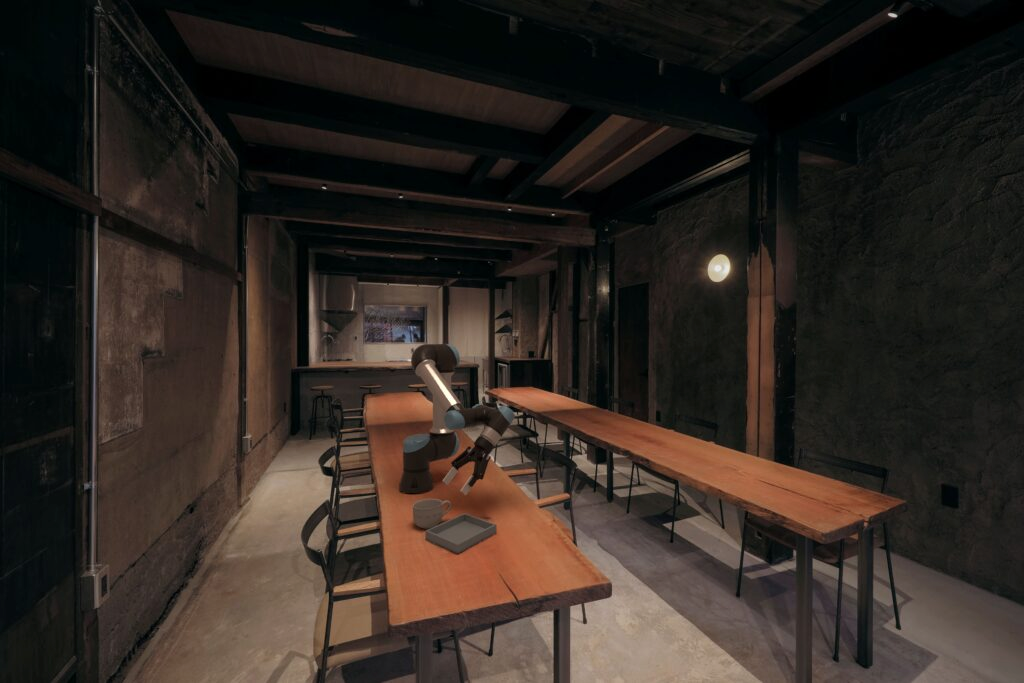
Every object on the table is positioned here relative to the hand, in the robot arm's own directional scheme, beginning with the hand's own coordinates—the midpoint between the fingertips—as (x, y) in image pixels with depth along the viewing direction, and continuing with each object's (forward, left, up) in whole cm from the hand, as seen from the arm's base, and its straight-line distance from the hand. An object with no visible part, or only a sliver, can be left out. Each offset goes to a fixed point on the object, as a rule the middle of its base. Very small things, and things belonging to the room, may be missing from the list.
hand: (453, 488), depth 155 cm
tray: (+12, -7, -12) cm, 18 cm away
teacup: (-3, -7, -12) cm, 15 cm away
